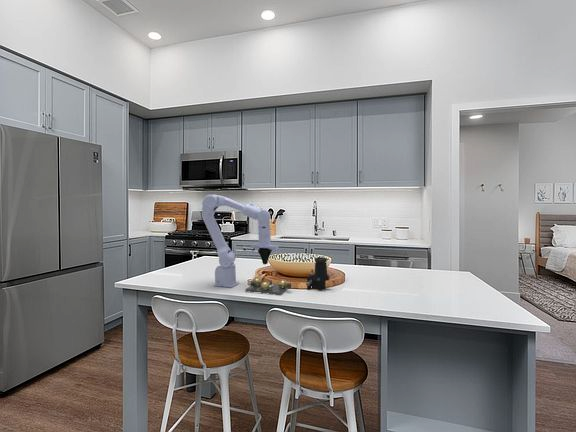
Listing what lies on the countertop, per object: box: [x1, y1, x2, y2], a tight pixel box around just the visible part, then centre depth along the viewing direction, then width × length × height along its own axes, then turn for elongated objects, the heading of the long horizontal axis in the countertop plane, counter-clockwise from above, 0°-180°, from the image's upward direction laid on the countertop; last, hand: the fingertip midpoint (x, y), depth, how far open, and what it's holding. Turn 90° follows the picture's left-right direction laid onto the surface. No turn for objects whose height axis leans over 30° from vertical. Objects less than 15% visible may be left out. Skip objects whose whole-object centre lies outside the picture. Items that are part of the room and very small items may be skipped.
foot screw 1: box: [250, 277, 262, 286], centre depth 151 cm, size 7×4×2 cm, turn 161°
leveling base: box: [245, 283, 290, 296], centre depth 149 cm, size 17×11×2 cm, turn 70°
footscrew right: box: [261, 279, 273, 290], centre depth 147 cm, size 7×4×2 cm, turn 155°
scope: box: [305, 256, 331, 291], centre depth 149 cm, size 8×14×10 cm
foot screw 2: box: [278, 279, 292, 289], centre depth 147 cm, size 7×4×2 cm, turn 40°
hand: (265, 263), depth 157 cm, fingers closed
